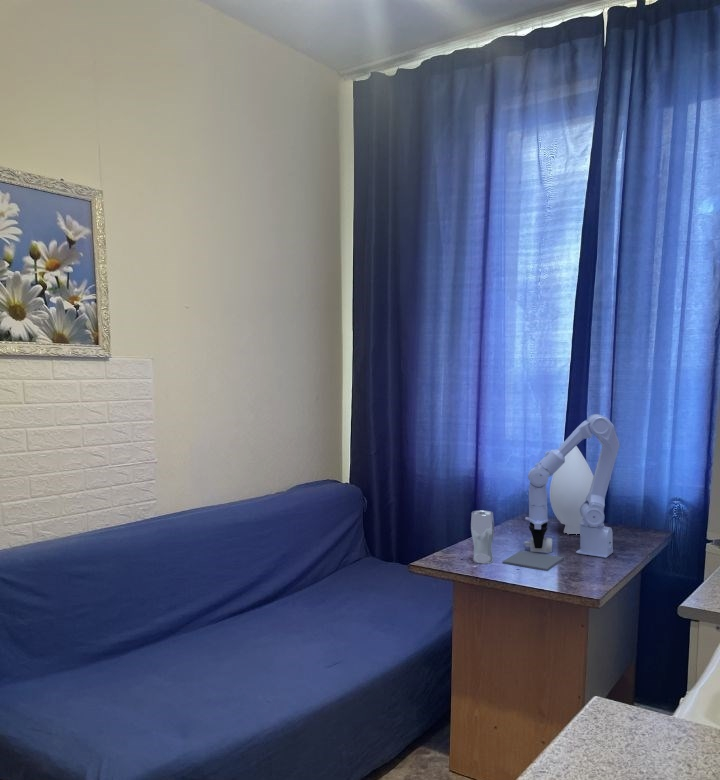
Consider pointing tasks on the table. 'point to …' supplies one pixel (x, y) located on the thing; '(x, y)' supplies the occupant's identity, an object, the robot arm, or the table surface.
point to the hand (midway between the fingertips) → (538, 546)
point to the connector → (545, 547)
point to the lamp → (570, 490)
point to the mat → (533, 560)
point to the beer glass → (482, 535)
